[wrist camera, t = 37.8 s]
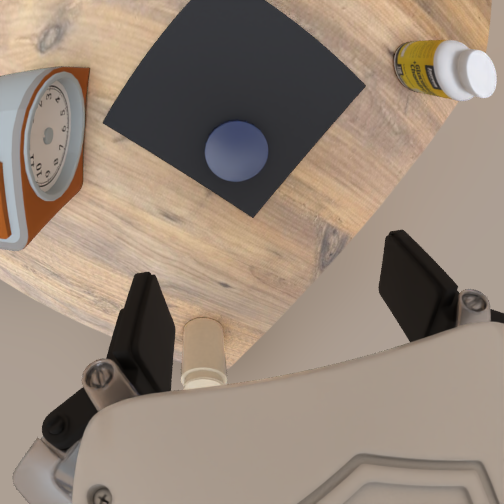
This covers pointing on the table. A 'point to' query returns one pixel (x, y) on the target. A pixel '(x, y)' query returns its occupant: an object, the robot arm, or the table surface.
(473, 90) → the pill bottle
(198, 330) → the jar
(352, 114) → the table surface
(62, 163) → the alarm clock
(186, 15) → the mat
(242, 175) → the lid
